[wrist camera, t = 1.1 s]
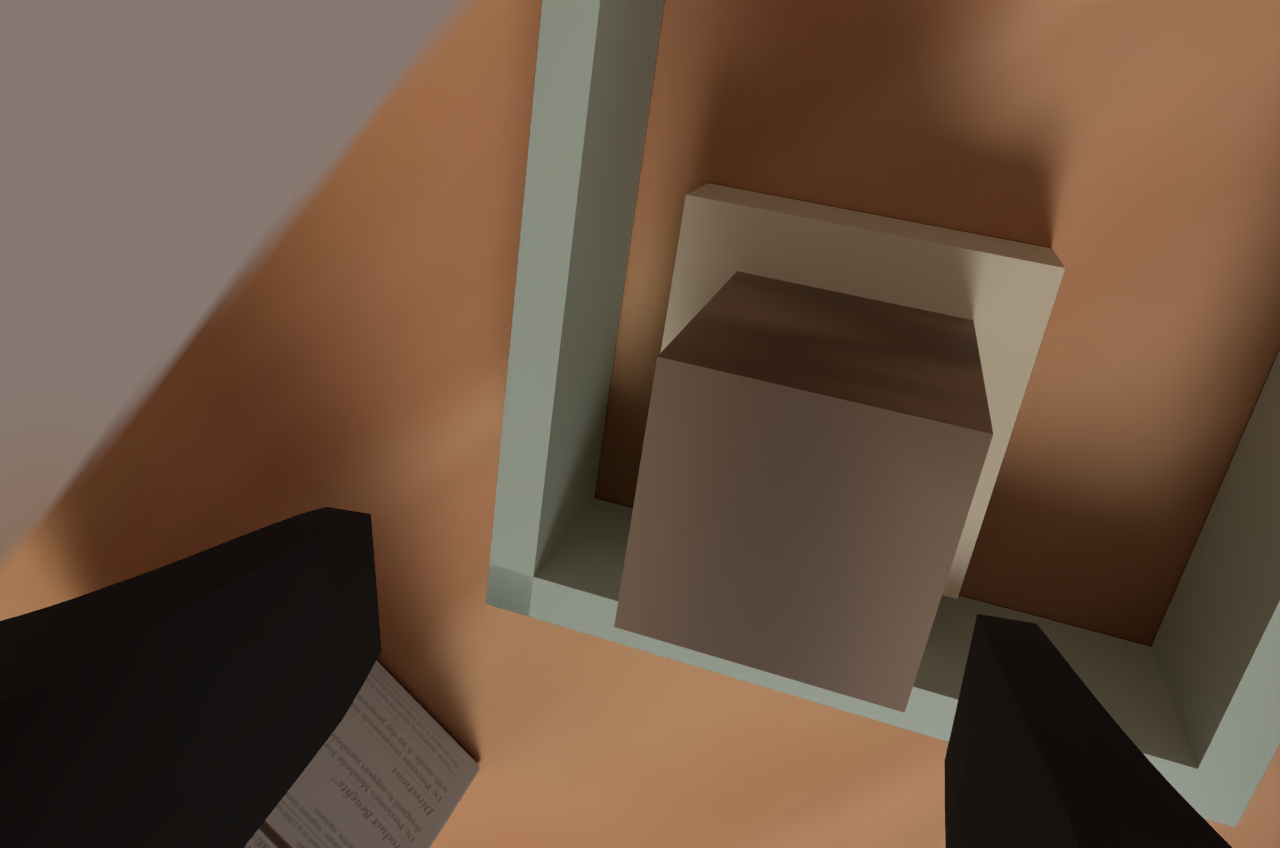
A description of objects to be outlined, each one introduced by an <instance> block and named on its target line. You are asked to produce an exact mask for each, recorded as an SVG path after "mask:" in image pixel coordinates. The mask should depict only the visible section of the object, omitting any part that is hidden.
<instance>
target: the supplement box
mask: <svg viewBox="0 0 1280 848" xmlns="http://www.w3.org/2000/svg"><path fill="white" fill-rule="evenodd" d="M478 771H479V765H478V764H477V763H476V762H475V761H474V760H473V759H472V758H471V757H470V756H469V755H468V754H467V753H466V752H465V751H464V750H463V749H462V748H461V747H460V746H459V744H458V743H457V742H456V741H455V740H454V739H453V738H452V737H451V736H450V735H449V734H448V733H447V732H446V731H445V730H444V729H443V728H442V727H441V726H440V725H439V724H438V723H437V722H436V721H435V720H434V719H433V718H432V717H431V716H430V715H429V714H428V713H427V712H426V711H425V710H424V709H423V708H422V706H421V705H420V704H419V703H418V702H417V701H416V700H415V699H414V698H413V697H412V696H411V695H410V694H409V693H408V692H407V691H406V690H405V689H404V688H403V687H402V686H401V685H400V684H399V683H398V682H397V681H396V680H395V679H394V678H393V677H392V676H391V675H390V674H389V673H388V672H387V671H386V670H385V669H384V668H383V667H382V666H381V665H380V663H379V662H378V661H377V660H376V662H375V664H374V666H373V667H372V669H371V671H370V673H369V675H368V677H367V678H366V680H365V682H364V684H363V686H362V688H361V689H360V691H359V693H358V694H357V696H356V698H355V699H354V701H353V703H352V704H351V706H350V708H349V710H348V711H347V713H346V715H345V716H344V718H343V719H342V721H341V722H340V723H339V725H338V726H337V728H336V729H335V730H334V732H333V733H332V734H331V736H330V737H329V738H328V740H327V741H326V742H325V744H324V745H323V746H322V747H321V749H320V750H319V751H318V753H317V754H316V755H315V757H314V758H313V759H312V761H311V762H310V763H309V765H308V766H307V767H306V768H305V770H304V771H303V772H302V774H301V775H300V776H299V778H298V779H297V780H296V781H295V783H294V784H293V785H292V787H291V788H290V789H289V790H288V792H287V793H286V794H285V796H284V797H283V798H282V799H281V801H280V802H279V803H278V804H277V806H276V807H275V808H274V810H273V811H272V812H271V813H270V815H269V816H268V817H267V819H266V820H265V821H264V822H263V824H262V825H261V826H260V828H259V829H258V830H257V831H256V833H255V834H254V835H253V837H252V838H251V839H250V840H249V842H248V843H247V844H246V846H245V847H244V848H430V847H431V845H432V843H433V842H434V840H435V839H436V837H437V836H438V834H439V833H440V831H441V830H442V828H443V827H444V825H445V824H446V822H447V820H448V819H449V817H450V816H451V814H452V812H453V811H454V809H455V808H456V806H457V804H458V803H459V801H460V800H461V798H462V797H463V795H464V793H465V792H466V790H467V789H468V787H469V786H470V784H471V782H472V781H473V779H474V778H475V776H476V774H477V773H478Z"/></svg>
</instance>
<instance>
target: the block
mask: <svg viewBox="0 0 1280 848" xmlns="http://www.w3.org/2000/svg"><path fill="white" fill-rule="evenodd" d="M992 437H993V430H992V424H991V418H990V412H989V407H988V401H987V395H986V389H985V384H984V378H983V372H982V366H981V361H980V355H979V349H978V343H977V338H976V332H975V326H974V320H969V319H965V318H960V317H955V316H950V315H945V314H941V313H936V312H931V311H926V310H921V309H917V308H912V307H907V306H902V305H897V304H893V303H888V302H883V301H878V300H873V299H869V298H864V297H859V296H854V295H849V294H845V293H840V292H835V291H830V290H825V289H821V288H816V287H811V286H806V285H801V284H797V283H792V282H787V281H782V280H777V279H773V278H768V277H763V276H758V275H753V274H749V273H744V272H739V271H737V272H736V273H735V274H734V275H733V276H732V277H731V278H730V279H729V280H728V281H727V283H726V284H725V285H724V286H723V287H722V288H721V289H720V290H719V291H718V292H717V293H716V294H715V295H714V296H713V297H712V299H711V300H710V301H709V302H708V303H707V304H706V305H705V306H704V307H703V308H702V309H701V310H700V311H699V312H698V314H697V315H696V316H695V317H694V318H693V319H692V320H691V321H690V322H689V323H688V324H687V325H686V326H685V327H684V328H683V330H682V331H681V332H680V333H679V334H678V335H677V336H676V337H675V338H674V339H673V340H672V341H671V342H670V343H669V344H668V346H667V347H666V348H665V349H664V350H663V351H662V352H661V353H660V354H659V355H658V356H657V361H656V367H655V373H654V380H653V386H652V392H651V398H650V405H649V411H648V417H647V424H646V430H645V436H644V442H643V449H642V455H641V461H640V468H639V474H638V480H637V486H636V493H635V499H634V505H633V511H632V518H631V524H630V530H629V537H628V543H627V549H626V555H625V562H624V568H623V574H622V581H621V587H620V593H619V599H618V606H617V612H616V618H615V624H614V627H616V628H619V629H623V630H626V631H629V632H633V633H636V634H640V635H643V636H646V637H650V638H653V639H657V640H660V641H663V642H667V643H670V644H673V645H677V646H680V647H684V648H687V649H690V650H694V651H697V652H701V653H704V654H707V655H711V656H714V657H717V658H721V659H724V660H728V661H731V662H734V663H738V664H741V665H745V666H748V667H751V668H755V669H758V670H762V671H765V672H768V673H772V674H775V675H778V676H782V677H785V678H789V679H792V680H795V681H799V682H802V683H806V684H809V685H812V686H816V687H819V688H822V689H826V690H829V691H833V692H836V693H839V694H843V695H846V696H850V697H853V698H856V699H860V700H863V701H866V702H870V703H873V704H877V705H880V706H883V707H887V708H890V709H894V710H897V711H900V712H904V713H905V710H906V707H907V704H908V701H909V697H910V694H911V691H912V688H913V685H914V682H915V679H916V676H917V672H918V669H919V666H920V663H921V660H922V657H923V654H924V650H925V647H926V644H927V641H928V638H929V635H930V632H931V628H932V625H933V622H934V619H935V616H936V613H937V610H938V606H939V603H940V600H941V597H942V594H943V591H944V588H945V584H946V581H947V578H948V575H949V572H950V569H951V566H952V563H953V559H954V556H955V553H956V550H957V547H958V544H959V541H960V537H961V534H962V531H963V528H964V525H965V522H966V519H967V515H968V512H969V509H970V506H971V503H972V500H973V497H974V493H975V490H976V487H977V484H978V481H979V478H980V475H981V471H982V468H983V465H984V462H985V459H986V456H987V453H988V449H989V446H990V443H991V440H992Z"/></svg>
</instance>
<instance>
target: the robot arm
mask: <svg viewBox="0 0 1280 848" xmlns="http://www.w3.org/2000/svg"><path fill="white" fill-rule="evenodd" d="M380 653H381V639H380V626H379V613H378V601H377V588H376V575H375V562H374V550H373V537H372V524H371V514H366V513H360V512H354V511H348V510H342V509H336V508H330V507H324V508H321V509H317V510H313V511H310V512H306V513H303V514H300V515H297V516H294V517H291V518H289V519H286V520H283V521H280V522H278V523H275V524H272V525H269V526H267V527H264V528H262V529H259V530H256V531H254V532H251V533H249V534H246V535H243V536H241V537H238V538H236V539H233V540H231V541H228V542H226V543H223V544H220V545H218V546H215V547H213V548H210V549H208V550H205V551H202V552H200V553H197V554H195V555H192V556H190V557H187V558H184V559H182V560H179V561H177V562H174V563H172V564H169V565H166V566H164V567H161V568H158V569H156V570H153V571H150V572H147V573H144V574H142V575H139V576H136V577H133V578H130V579H128V580H125V581H122V582H119V583H116V584H114V585H111V586H108V587H105V588H102V589H100V590H97V591H94V592H91V593H88V594H85V595H83V596H80V597H77V598H74V599H71V600H68V601H65V602H62V603H59V604H56V605H53V606H50V607H47V608H43V609H40V610H37V611H33V612H30V613H27V614H24V615H20V616H17V617H13V618H10V619H6V620H3V621H0V848H244V847H245V846H246V844H247V843H248V842H249V840H250V839H251V838H252V837H253V835H254V834H255V833H256V831H257V830H258V829H259V828H260V826H261V825H262V824H263V822H264V821H265V820H266V819H267V817H268V816H269V815H270V813H271V812H272V811H273V810H274V808H275V807H276V806H277V804H278V803H279V802H280V801H281V799H282V798H283V797H284V796H285V794H286V793H287V792H288V790H289V789H290V788H291V787H292V785H293V784H294V783H295V781H296V780H297V779H298V778H299V776H300V775H301V774H302V772H303V771H304V770H305V768H306V767H307V766H308V765H309V763H310V762H311V761H312V759H313V758H314V757H315V755H316V754H317V753H318V751H319V750H320V749H321V747H322V746H323V745H324V744H325V742H326V741H327V740H328V738H329V737H330V736H331V734H332V733H333V732H334V730H335V729H336V728H337V726H338V725H339V723H340V722H341V721H342V719H343V718H344V716H345V715H346V713H347V711H348V710H349V708H350V706H351V704H352V703H353V701H354V699H355V698H356V696H357V694H358V693H359V691H360V689H361V688H362V686H363V684H364V682H365V680H366V678H367V677H368V675H369V673H370V671H371V669H372V667H373V666H374V664H375V662H376V660H377V658H378V657H379V655H380ZM945 831H946V848H1232V847H1231V846H1230V845H1229V844H1228V843H1227V842H1226V841H1225V840H1224V839H1223V838H1222V837H1221V836H1220V835H1219V834H1218V833H1217V832H1216V831H1215V830H1214V829H1213V828H1212V827H1211V826H1210V825H1209V824H1208V823H1207V822H1206V821H1205V820H1204V818H1203V817H1202V816H1201V815H1200V814H1199V813H1198V812H1197V811H1196V810H1195V809H1194V808H1193V807H1192V806H1191V805H1190V804H1189V803H1188V802H1187V801H1186V800H1185V799H1184V798H1183V797H1182V796H1181V795H1180V794H1179V793H1178V791H1177V790H1176V789H1175V788H1174V787H1173V786H1172V785H1171V784H1170V783H1169V782H1168V781H1167V780H1166V779H1165V777H1164V776H1163V775H1162V774H1161V773H1160V772H1159V771H1158V770H1157V769H1156V767H1155V766H1154V765H1153V764H1152V763H1151V762H1150V761H1149V760H1148V759H1147V757H1146V756H1145V755H1144V754H1143V753H1142V752H1141V751H1140V749H1139V748H1138V747H1137V746H1136V745H1135V744H1134V743H1133V741H1132V740H1131V739H1130V738H1129V737H1128V736H1127V734H1126V733H1125V732H1124V731H1123V730H1122V729H1121V727H1120V726H1119V725H1118V724H1117V723H1116V722H1115V720H1114V719H1113V718H1112V717H1111V715H1110V714H1109V713H1108V712H1107V711H1106V709H1105V708H1104V707H1103V706H1102V705H1101V703H1100V702H1099V701H1098V700H1097V698H1096V697H1095V696H1094V695H1093V694H1092V692H1091V691H1090V690H1089V689H1088V687H1087V686H1086V685H1085V684H1084V682H1083V681H1082V680H1081V679H1080V677H1079V676H1078V675H1077V674H1076V672H1075V671H1074V670H1073V669H1072V667H1071V666H1070V665H1069V663H1068V662H1067V661H1066V660H1065V658H1064V657H1063V656H1062V655H1061V653H1060V652H1059V651H1058V649H1057V648H1056V647H1055V646H1054V644H1053V643H1052V642H1051V641H1050V639H1049V638H1048V637H1047V636H1046V634H1045V633H1044V632H1043V631H1042V629H1041V628H1040V627H1039V626H1038V625H1037V623H1031V622H1024V621H1018V620H1012V619H1006V618H1000V617H994V616H988V615H982V614H977V617H976V622H975V626H974V631H973V635H972V640H971V644H970V649H969V653H968V658H967V662H966V667H965V671H964V676H963V681H962V685H961V690H960V694H959V699H958V703H957V708H956V712H955V717H954V721H953V726H952V731H951V735H950V740H949V744H948V749H947V753H946V758H945Z"/></svg>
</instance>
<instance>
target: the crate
mask: <svg viewBox="0 0 1280 848" xmlns="http://www.w3.org/2000/svg"><path fill="white" fill-rule="evenodd" d="M663 6H664V0H542V10H541V21H540V32H539V42H538V53H537V64H536V74H535V85H534V96H533V106H532V117H531V128H530V138H529V149H528V160H527V170H526V181H525V192H524V202H523V213H522V223H521V234H520V245H519V255H518V266H517V277H516V287H515V298H514V309H513V319H512V330H511V341H510V351H509V362H508V373H507V383H506V394H505V405H504V415H503V426H502V436H501V447H500V458H499V468H498V479H497V490H496V500H495V511H494V522H493V532H492V543H491V554H490V564H489V575H488V586H487V596H486V604H489V605H492V606H495V607H499V608H502V609H505V610H509V611H512V612H515V613H519V614H522V615H525V616H529V617H532V618H535V619H539V620H542V621H546V622H549V623H552V624H556V625H559V626H562V627H566V628H569V629H572V630H576V631H579V632H582V633H586V634H589V635H592V636H596V637H599V638H602V639H606V640H609V641H612V642H616V643H619V644H623V645H626V646H629V647H633V648H636V649H639V650H643V651H646V652H649V653H653V654H656V655H659V656H663V657H666V658H669V659H673V660H676V661H679V662H683V663H686V664H689V665H693V666H696V667H700V668H703V669H706V670H710V671H713V672H716V673H720V674H723V675H726V676H730V677H733V678H736V679H740V680H743V681H746V682H750V683H753V684H756V685H760V686H763V687H766V688H770V689H773V690H777V691H780V692H783V693H787V694H790V695H793V696H797V697H800V698H803V699H807V700H810V701H813V702H817V703H820V704H823V705H827V706H830V707H833V708H837V709H840V710H843V711H847V712H850V713H853V714H857V715H860V716H864V717H867V718H870V719H874V720H877V721H880V722H884V723H887V724H890V725H894V726H897V727H900V728H904V729H907V730H910V731H914V732H917V733H920V734H924V735H927V736H930V737H934V738H937V739H941V740H944V741H947V742H949V740H950V735H951V731H952V726H953V721H954V717H955V712H956V708H957V703H958V699H959V694H960V690H961V685H962V681H963V676H964V671H965V667H966V662H967V658H968V653H969V649H970V644H971V640H972V635H973V631H974V626H975V622H976V617H977V614H982V615H988V616H994V617H1000V618H1006V619H1012V620H1018V621H1024V622H1031V623H1037V625H1038V626H1039V627H1040V628H1041V629H1042V631H1043V632H1044V633H1045V634H1046V636H1047V637H1048V638H1049V639H1050V641H1051V642H1052V643H1053V644H1054V646H1055V647H1056V648H1057V649H1058V651H1059V652H1060V653H1061V655H1062V656H1063V657H1064V658H1065V660H1066V661H1067V662H1068V663H1069V665H1070V666H1071V667H1072V669H1073V670H1074V671H1075V672H1076V674H1077V675H1078V676H1079V677H1080V679H1081V680H1082V681H1083V682H1084V684H1085V685H1086V686H1087V687H1088V689H1089V690H1090V691H1091V692H1092V694H1093V695H1094V696H1095V697H1096V698H1097V700H1098V701H1099V702H1100V703H1101V705H1102V706H1103V707H1104V708H1105V709H1106V711H1107V712H1108V713H1109V714H1110V715H1111V717H1112V718H1113V719H1114V720H1115V722H1116V723H1117V724H1118V725H1119V726H1120V727H1121V729H1122V730H1123V731H1124V732H1125V733H1126V734H1127V736H1128V737H1129V738H1130V739H1131V740H1132V741H1133V743H1134V744H1135V745H1136V746H1137V747H1138V748H1139V749H1140V751H1141V752H1142V753H1143V754H1144V755H1145V756H1146V757H1147V759H1148V760H1149V761H1150V762H1151V763H1152V764H1153V765H1154V766H1155V767H1156V769H1157V770H1158V771H1159V772H1160V773H1161V774H1162V775H1163V776H1164V777H1165V779H1166V780H1167V781H1168V782H1169V783H1170V784H1171V785H1172V786H1173V787H1174V788H1175V789H1176V790H1177V791H1178V793H1179V794H1180V795H1181V796H1182V797H1183V798H1184V799H1185V800H1186V801H1187V802H1188V803H1189V804H1190V805H1191V806H1192V807H1193V808H1194V809H1195V810H1196V811H1197V812H1198V813H1199V814H1200V815H1201V816H1202V817H1203V818H1205V819H1208V820H1212V821H1215V822H1218V823H1222V824H1225V825H1228V826H1232V827H1235V828H1236V826H1237V825H1238V823H1239V821H1240V819H1241V817H1242V815H1243V813H1244V811H1245V809H1246V807H1247V805H1248V804H1249V802H1250V800H1251V798H1252V796H1253V794H1254V792H1255V790H1256V788H1257V786H1258V784H1259V783H1260V781H1261V779H1262V777H1263V775H1264V773H1265V771H1266V769H1267V767H1268V765H1269V763H1270V762H1271V760H1272V758H1273V756H1274V754H1275V752H1276V750H1277V748H1278V746H1279V744H1280V350H1279V353H1278V355H1277V357H1276V360H1275V362H1274V364H1273V366H1272V369H1271V371H1270V373H1269V376H1268V378H1267V380H1266V383H1265V385H1264V387H1263V390H1262V392H1261V394H1260V396H1259V399H1258V401H1257V403H1256V406H1255V408H1254V410H1253V413H1252V415H1251V417H1250V420H1249V422H1248V424H1247V427H1246V429H1245V431H1244V433H1243V436H1242V438H1241V440H1240V443H1239V445H1238V447H1237V450H1236V452H1235V454H1234V457H1233V459H1232V461H1231V464H1230V466H1229V468H1228V470H1227V473H1226V475H1225V477H1224V480H1223V482H1222V484H1221V487H1220V489H1219V491H1218V494H1217V496H1216V498H1215V500H1214V503H1213V505H1212V507H1211V510H1210V512H1209V514H1208V517H1207V519H1206V521H1205V524H1204V526H1203V528H1202V531H1201V533H1200V535H1199V537H1198V540H1197V542H1196V544H1195V547H1194V549H1193V551H1192V554H1191V556H1190V558H1189V561H1188V563H1187V565H1186V568H1185V570H1184V572H1183V574H1182V577H1181V579H1180V581H1179V584H1178V586H1177V588H1176V591H1175V593H1174V595H1173V598H1172V600H1171V602H1170V604H1169V607H1168V609H1167V611H1166V614H1165V616H1164V618H1163V621H1162V623H1161V625H1160V628H1159V630H1158V632H1157V635H1156V637H1155V639H1154V641H1153V644H1152V646H1151V647H1150V646H1146V645H1142V644H1139V643H1135V642H1131V641H1127V640H1124V639H1120V638H1116V637H1112V636H1109V635H1105V634H1101V633H1097V632H1094V631H1090V630H1086V629H1082V628H1079V627H1075V626H1071V625H1067V624H1064V623H1060V622H1056V621H1052V620H1049V619H1045V618H1041V617H1037V616H1034V615H1030V614H1026V613H1022V612H1019V611H1015V610H1011V609H1008V608H1004V607H1000V606H996V605H993V604H989V603H985V602H981V601H978V600H974V599H970V598H966V597H963V596H959V592H960V589H961V586H962V583H963V580H964V577H965V574H966V571H967V568H968V565H969V562H970V559H971V556H972V553H973V550H974V547H975V543H976V540H977V537H978V534H979V531H980V528H981V525H982V522H983V519H984V516H985V513H986V510H987V507H988V504H989V501H990V498H991V494H992V491H993V488H994V485H995V482H996V479H997V476H998V473H999V470H1000V467H1001V464H1002V461H1003V458H1004V455H1005V452H1006V449H1007V446H1008V442H1009V439H1010V436H1011V433H1012V430H1013V427H1014V424H1015V421H1016V418H1017V415H1018V412H1019V409H1020V406H1021V403H1022V400H1023V397H1024V393H1025V390H1026V387H1027V384H1028V381H1029V378H1030V375H1031V372H1032V369H1033V366H1034V363H1035V360H1036V357H1037V354H1038V351H1039V348H1040V344H1041V341H1042V338H1043V335H1044V332H1045V329H1046V326H1047V323H1048V320H1049V317H1050V314H1051V311H1052V308H1053V305H1054V302H1055V299H1056V296H1057V292H1058V289H1059V286H1060V283H1061V280H1062V277H1063V274H1064V271H1065V267H1064V265H1063V264H1062V262H1061V261H1060V259H1059V258H1058V256H1057V255H1056V253H1055V252H1054V250H1053V249H1052V248H1047V247H1042V246H1036V245H1031V244H1026V243H1020V242H1015V241H1010V240H1005V239H999V238H994V237H989V236H984V235H978V234H973V233H968V232H963V231H957V230H952V229H947V228H942V227H936V226H931V225H926V224H921V223H915V222H910V221H905V220H900V219H894V218H889V217H884V216H878V215H873V214H868V213H863V212H857V211H852V210H847V209H842V208H836V207H831V206H826V205H821V204H815V203H810V202H805V201H800V200H794V199H789V198H784V197H779V196H773V195H768V194H763V193H758V192H752V191H747V190H742V189H736V188H731V187H726V186H721V185H715V184H710V183H707V184H705V185H703V186H701V187H699V188H698V189H696V190H694V191H692V192H690V193H688V194H686V197H685V203H684V210H683V216H682V222H681V228H680V235H679V241H678V247H677V253H676V259H675V266H674V272H673V278H672V284H671V291H670V297H669V303H668V309H667V316H666V322H665V328H664V334H663V340H662V347H661V352H662V351H663V350H664V349H665V348H666V347H667V346H668V344H669V343H670V342H671V341H672V340H673V339H674V338H675V337H676V336H677V335H678V334H679V333H680V332H681V331H682V330H683V328H684V327H685V326H686V325H687V324H688V323H689V322H690V321H691V320H692V319H693V318H694V317H695V316H696V315H697V314H698V312H699V311H700V310H701V309H702V308H703V307H704V306H705V305H706V304H707V303H708V302H709V301H710V300H711V299H712V297H713V296H714V295H715V294H716V293H717V292H718V291H719V290H720V289H721V288H722V287H723V286H724V285H725V284H726V283H727V281H728V280H729V279H730V278H731V277H732V276H733V275H734V274H735V273H736V272H737V271H739V272H744V273H749V274H753V275H758V276H763V277H768V278H773V279H777V280H782V281H787V282H792V283H797V284H801V285H806V286H811V287H816V288H821V289H825V290H830V291H835V292H840V293H845V294H849V295H854V296H859V297H864V298H869V299H873V300H878V301H883V302H888V303H893V304H897V305H902V306H907V307H912V308H917V309H921V310H926V311H931V312H936V313H941V314H945V315H950V316H955V317H960V318H965V319H969V320H974V326H975V332H976V338H977V343H978V349H979V355H980V361H981V366H982V372H983V378H984V384H985V389H986V395H987V401H988V407H989V412H990V418H991V424H992V430H993V437H992V440H991V443H990V446H989V449H988V453H987V456H986V459H985V462H984V465H983V468H982V471H981V475H980V478H979V481H978V484H977V487H976V490H975V493H974V497H973V500H972V503H971V506H970V509H969V512H968V515H967V519H966V522H965V525H964V528H963V531H962V534H961V537H960V541H959V544H958V547H957V550H956V553H955V556H954V559H953V563H952V566H951V569H950V572H949V575H948V578H947V581H946V584H945V588H944V591H943V594H942V597H941V600H940V603H939V606H938V610H937V613H936V616H935V619H934V622H933V625H932V628H931V632H930V635H929V638H928V641H927V644H926V647H925V650H924V654H923V657H922V660H921V663H920V666H919V669H918V672H917V676H916V679H915V682H914V685H913V688H912V691H911V694H910V697H909V701H908V704H907V707H906V710H905V713H904V712H900V711H897V710H894V709H890V708H887V707H883V706H880V705H877V704H873V703H870V702H866V701H863V700H860V699H856V698H853V697H850V696H846V695H843V694H839V693H836V692H833V691H829V690H826V689H822V688H819V687H816V686H812V685H809V684H806V683H802V682H799V681H795V680H792V679H789V678H785V677H782V676H778V675H775V674H772V673H768V672H765V671H762V670H758V669H755V668H751V667H748V666H745V665H741V664H738V663H734V662H731V661H728V660H724V659H721V658H717V657H714V656H711V655H707V654H704V653H701V652H697V651H694V650H690V649H687V648H684V647H680V646H677V645H673V644H670V643H667V642H663V641H660V640H657V639H653V638H650V637H646V636H643V635H640V634H636V633H633V632H629V631H626V630H623V629H619V628H616V627H614V624H615V618H616V612H617V606H618V599H619V593H620V587H621V581H622V574H623V568H624V562H625V555H626V549H627V543H628V537H629V530H630V524H631V518H632V511H633V508H629V507H626V506H622V505H618V504H615V503H611V502H607V501H603V500H600V499H596V498H594V497H595V490H596V483H597V476H598V469H599V462H600V455H601V447H602V440H603V433H604V426H605V419H606V412H607V405H608V398H609V390H610V383H611V376H612V369H613V362H614V355H615V348H616V341H617V333H618V326H619V319H620V312H621V305H622V298H623V291H624V284H625V276H626V269H627V262H628V255H629V248H630V241H631V234H632V227H633V219H634V212H635V205H636V198H637V191H638V184H639V177H640V170H641V162H642V155H643V148H644V141H645V134H646V127H647V120H648V113H649V105H650V98H651V91H652V84H653V77H654V70H655V63H656V56H657V48H658V41H659V34H660V27H661V20H662V13H663Z"/></svg>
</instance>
